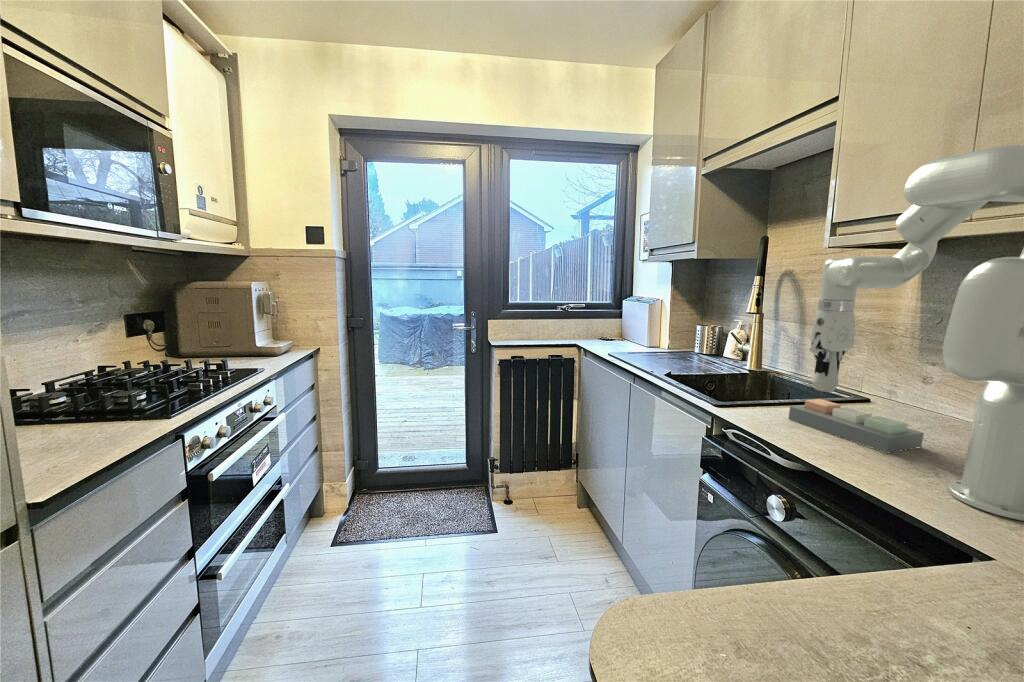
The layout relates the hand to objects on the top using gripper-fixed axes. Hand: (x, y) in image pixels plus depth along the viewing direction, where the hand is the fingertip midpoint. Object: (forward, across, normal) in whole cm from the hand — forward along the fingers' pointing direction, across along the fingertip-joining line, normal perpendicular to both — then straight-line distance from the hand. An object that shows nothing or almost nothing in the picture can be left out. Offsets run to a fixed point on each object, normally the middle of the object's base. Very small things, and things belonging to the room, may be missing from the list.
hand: (826, 374), depth 114 cm
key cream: (+11, 0, -8) cm, 14 cm away
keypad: (+13, 0, -8) cm, 15 cm away
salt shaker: (+4, 0, 0) cm, 4 cm away
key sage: (+11, 0, -15) cm, 19 cm away
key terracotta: (+11, 0, 0) cm, 11 cm away
